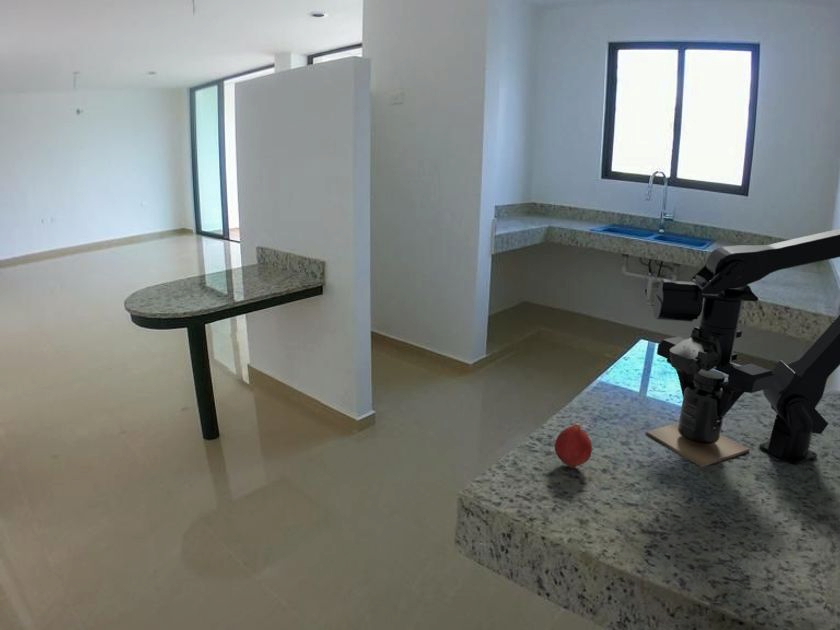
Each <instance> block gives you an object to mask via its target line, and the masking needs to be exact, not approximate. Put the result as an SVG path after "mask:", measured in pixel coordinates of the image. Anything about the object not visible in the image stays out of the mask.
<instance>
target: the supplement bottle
mask: <svg viewBox="0 0 840 630" xmlns="http://www.w3.org/2000/svg"><path fill="white" fill-rule="evenodd" d="M725 380H726V375H724V373H723V372H720V371H718V370H715V369H711V370H709V371H705V370H703V369H701V370H700V371H699V372H698V373H696V374H694V377H693V378H692V381H693V382H694V383H691V384H689V385H687V387H686V388H685V391H684V396H683V395H682V402H681V403H682V404H681V408H680V414H679V419H678V423H679V425H678V432H679V433H680V435H681V436H682V437H684V438H686V439H687V440H690V441H692V442H696V443H700V444H713V443H715V442H717V441H718V440H719V438H720V434H722V429H723V428H722V427H723V423H724V418H725V416H723V417H719V416H718V414H719V406H720V401H721V396H722V391H723V390H722V388H721V386H720V383H722V382H725Z"/></svg>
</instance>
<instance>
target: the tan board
mask: <svg viewBox="0 0 840 630" xmlns="http://www.w3.org/2000/svg"><path fill="white" fill-rule="evenodd" d="M678 425H679V422H676V423H673V424H668V425H665V426H661V427H658V428H655V429H651V430H648V431H647V430H646V431H645V434H646V436H649V437H650V438H652V439H653V440H656V441H657V442H658V443H660V444H662V445H664V446H665V447H667V448H668V449H670V450H672V451H674V452H675V453H676V454H679V455H680V456H682V457H683V458H686V459H687V460H689V461H691V462H693V463H694V464H696V465H697V466H699V467H701V468H704V467H706V466H709V465H712V464H715V463H718V462H721V461H725V460H728V459H730V458H733V457H737V456H740V455H743V454H745V453H749V452H750V448H749V447H746V446H744V445H742V444H740V443H738V442H737V441H735V440H733V439H731V438H729V437H727V436H725V435H723V434H722V433H720V438H719V440H718V441H717V442H715V443H713V444H700V443H696V442H692V441H690V440H687V439H686V438H684V437H682V436H681V435H680V433H679V432H678Z"/></svg>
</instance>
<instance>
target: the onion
mask: <svg viewBox="0 0 840 630" xmlns="http://www.w3.org/2000/svg"><path fill="white" fill-rule="evenodd" d="M554 451H555V454H556V455H557V458H558V459H559V460H560V461H561V462H562V463H564V464H565V465H566V466H568V467H569V468H571V469H574V468H576V467H578V466H581V465H583V464H585V463H586V462H588V460H589V459H590V458H591V455H592V451H593V444H592V440H591V438H590V437H589V435H588V434H587V433H586V431H584V430H583V429H582V428H581V424H580V423H578V422H577V423H575V424H574V423H573V425H571V426H568V427H566V428H564V429H563V430H562V431H561V432H559V434H558V435H557V437H556V439H555V443H554Z"/></svg>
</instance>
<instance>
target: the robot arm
mask: <svg viewBox="0 0 840 630" xmlns="http://www.w3.org/2000/svg"><path fill="white" fill-rule="evenodd" d="M837 258H840V228H836V229H831V230H827V231H823V232H819V233H814V234H809V235H805V236H800V237H797V238H792V239H788V240H784V241H778V242H774V243H770V244H761V245H758V244H756V245H753V244H752V245H751V244H749V245H748V244H741V245H739V244H738V245H726V246H719V247H718V248H715V249H713V250H712V251H711V253H710V254H709V255H708V257H707V260H706V262H705V264H704V265H703V266H702V267H701V268H700V269H699V270H698V271H697V272H696V273H694V274H693V276H691V278H689V281H680V280H679V281H678V280H677V281H676V280H673V279H665V278H662V279H660V284H659V286H658V288H657V290H656V292H655V293H656V294H654V298H653V309H652V310H653V318H654V319H655V320H659V321H675V322H689V323H692V322H693V321H694V320H698V318H699V317H700V320H699V325H697V326H694V327H693V328H692V330H691V335H690V336H689V338H684V337H682V336H675V337H674V336H673V337H669V338H664V339H661V341H660V342H659V343H658V344H657V349H656V355H657V356H661V358H665V359H666V363H668V364H669V365H670V366H671V367H673V368H674V369H675V371H676V373H677V377H678V381H679V385H680V389H681V390H680V391H681V395H682V397H683V396H684V391H685V388H686V387H687V385H689V384H691V383H694V382H693V381H692V378H693V377H694V374H696V373H698V372H699V371H700V370H701V369H703V370H705V371H709V370H714V371H717V372H720V373H722V374H726V375H727V381H724V382H722V383H720V386H721V388H722V390H723V391H722V396H721V401H720V406H719V414H718V416H719V417H723V416H724V417H725V416H726V415H727V414H728V413H729V411H730V410H731V409H732V407H734V405H735V404H736V402H737V401H738V400H739V399H740V398H741V396H742V395H743V394H745V393H748V394H752V393H753V394H754V393H756V392H761V391H762V392H763V396H764V398H765V399H766V401H768V402H769V404H770V407H771V409H772V410H773V411H774V412H775V413H776V415H775V418H774V420H773V425H772V430H771V434H770V438H769V440H768V441H765V442H762V443H760V444H759V448H760V449H762V450H764V451H765V452H768V453H770V454H772V455H773V456H776V457H778V458H780V459H782V460H784V461H786V462H788V463H789V464H791V465H794V466H795V465H798V464H801V463H804V462H806V461H807V462H808V461H810V460H812V459H815V458H817V457H818V453H816V452H814V451H812V450H810V446H811V442H812V438H813V435H814V434H818V435H819V434H823V432H824V431H825V429H826V428H827V427H828V425H829V423H828V422H827V420H826V419H825V418H824V417H823V416H822V415H821V414H820V412H819V411H818V410H817V409H816V407H818V405H819V403H820V401H821V400H822V399H823V397H824V393H825V389H826V385H827V382H828V379H829V378H830V376H831V375H832V374H833V373H834V372H835V371H836V370H837V369H838V368H839V367H840V314H839V315H838V316H837V318H835V319H834V321H833V322H832V323H830V325H829V326H828V327H827V328H826V330H825V331H823V333H822V334H821V335H820V336H819V338H818V339H817V340H815V342H814V343H813V344H812V345H811V346H810V347H809V349H808V350H807V351H806V352H805V353H804V354H803V355H802V356H801V357H800V358H799V359H798V360H795V361H793V362H791V363H788V364H787V363H785V362H784V361H783V360H780V361H778V362H777V363H776V364H775V366H774V368H773V370H772V371H771V370H769V369H767V368H765V367H761V366H759V365H756V364H754V363H747V364H743V365H736V364H734V363H732V362H733V361H737V358H738V353H735V352H734V350H735V344H736V339H737V338H738V339H739V338H741V337H742V334H743V331H742V330H739V329H738V328H739V325H740V324H739V323H740V318H741V313H742V308H743V304H744V301H745V302H758V301H759V296H757V295H756V294H755V293H754V292H753V291H752V288H751V286H750V284H753V283H755V282H759V281H760V280H762V279H764V278H766V277H767V276H769V275H770V274H773V273H775V272H777V271H781V270H785V269H790V268H795V267H800V266H804V265H809V264H814V263H819V262H823V261H828V260H833V259H837Z"/></svg>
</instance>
